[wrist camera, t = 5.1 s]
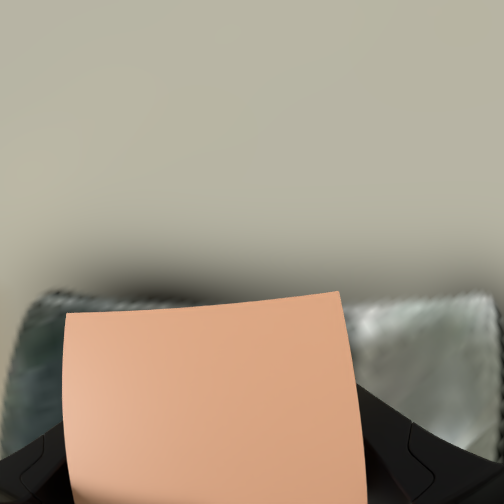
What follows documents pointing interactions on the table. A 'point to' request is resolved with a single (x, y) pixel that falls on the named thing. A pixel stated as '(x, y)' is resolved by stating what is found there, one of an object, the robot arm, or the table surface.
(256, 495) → the post
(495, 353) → the table surface
